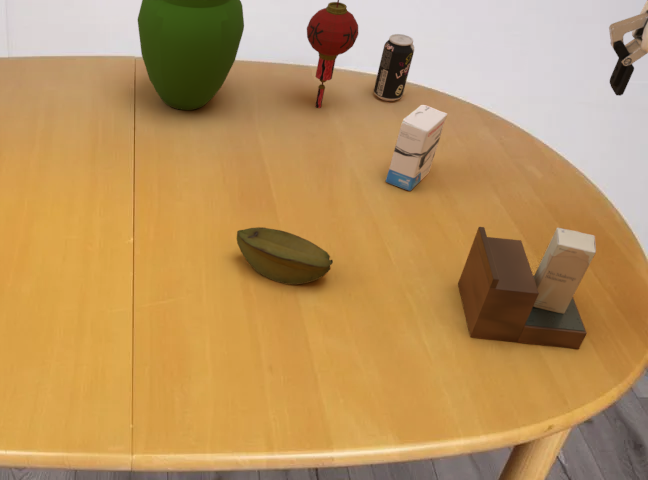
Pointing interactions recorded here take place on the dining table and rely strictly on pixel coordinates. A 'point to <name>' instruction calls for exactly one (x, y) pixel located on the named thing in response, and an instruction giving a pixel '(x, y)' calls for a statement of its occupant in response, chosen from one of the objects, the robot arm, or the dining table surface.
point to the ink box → (416, 147)
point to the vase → (189, 47)
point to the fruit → (283, 255)
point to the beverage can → (394, 67)
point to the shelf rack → (511, 298)
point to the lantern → (330, 39)
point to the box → (563, 268)
